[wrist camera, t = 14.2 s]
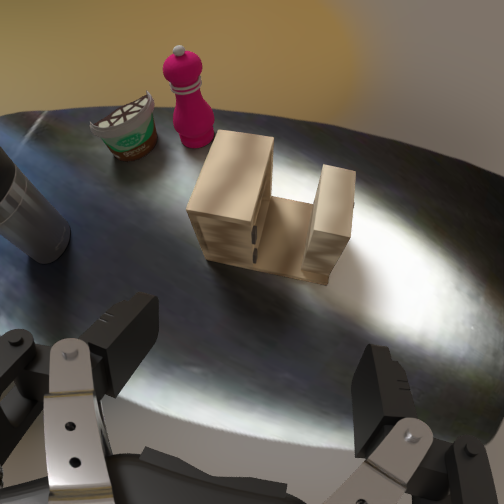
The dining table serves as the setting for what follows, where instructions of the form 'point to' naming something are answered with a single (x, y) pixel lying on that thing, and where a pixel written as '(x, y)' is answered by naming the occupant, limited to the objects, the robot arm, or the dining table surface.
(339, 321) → the dining table surface
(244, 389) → the dining table surface
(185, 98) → the pepper mill
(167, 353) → the dining table surface
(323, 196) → the door
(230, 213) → the cabinet
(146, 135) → the food container
